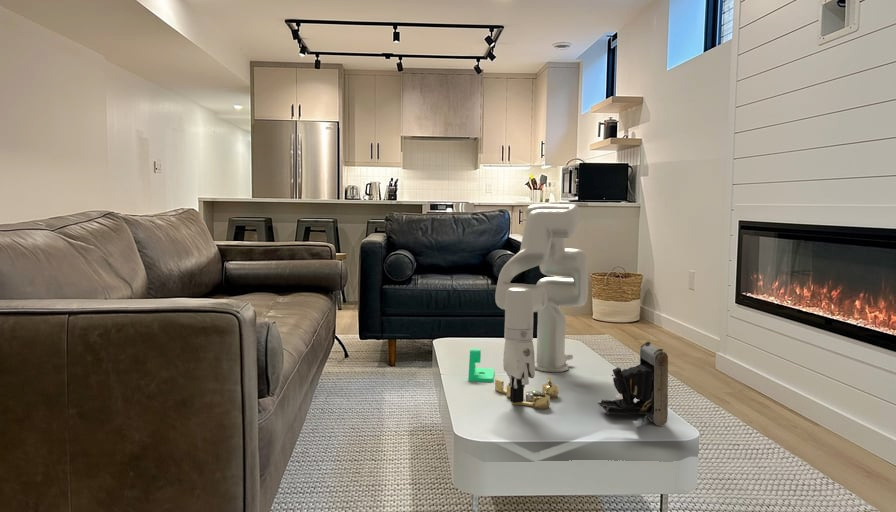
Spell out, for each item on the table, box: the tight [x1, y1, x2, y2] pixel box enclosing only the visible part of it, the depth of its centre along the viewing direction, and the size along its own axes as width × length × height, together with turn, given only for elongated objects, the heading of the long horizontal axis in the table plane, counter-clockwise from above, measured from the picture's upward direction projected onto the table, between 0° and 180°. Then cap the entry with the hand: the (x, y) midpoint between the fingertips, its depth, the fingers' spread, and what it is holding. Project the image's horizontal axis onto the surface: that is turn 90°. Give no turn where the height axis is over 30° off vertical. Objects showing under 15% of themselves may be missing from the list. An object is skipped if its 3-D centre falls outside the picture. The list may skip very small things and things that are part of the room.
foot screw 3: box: [541, 377, 559, 400], centre depth 168 cm, size 10×4×4 cm, turn 172°
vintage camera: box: [597, 341, 669, 427], centre depth 150 cm, size 10×15×20 cm, turn 95°
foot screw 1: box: [494, 378, 512, 400], centre depth 166 cm, size 10×4×4 cm, turn 35°
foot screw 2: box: [511, 393, 551, 411], centre depth 157 cm, size 10×4×4 cm, turn 70°
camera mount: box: [467, 348, 495, 383], centre depth 184 cm, size 12×8×10 cm, turn 174°
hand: (516, 401), depth 155 cm, fingers closed
